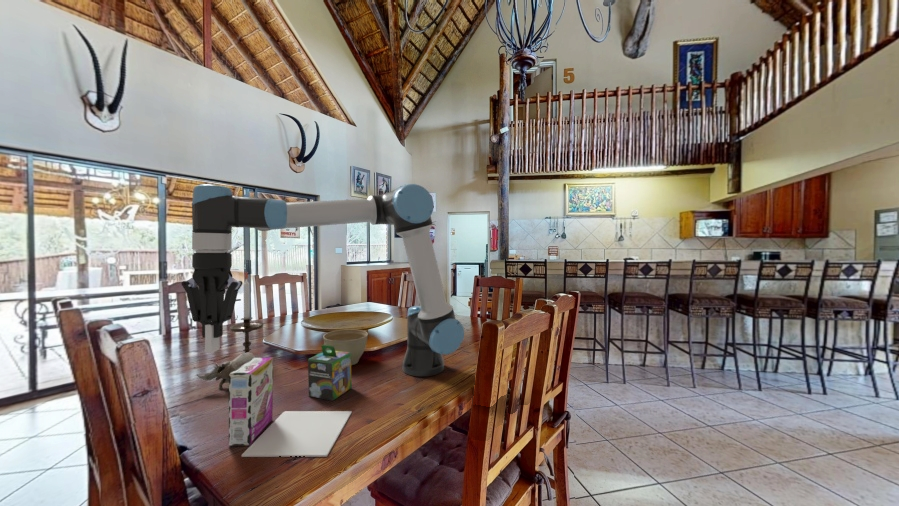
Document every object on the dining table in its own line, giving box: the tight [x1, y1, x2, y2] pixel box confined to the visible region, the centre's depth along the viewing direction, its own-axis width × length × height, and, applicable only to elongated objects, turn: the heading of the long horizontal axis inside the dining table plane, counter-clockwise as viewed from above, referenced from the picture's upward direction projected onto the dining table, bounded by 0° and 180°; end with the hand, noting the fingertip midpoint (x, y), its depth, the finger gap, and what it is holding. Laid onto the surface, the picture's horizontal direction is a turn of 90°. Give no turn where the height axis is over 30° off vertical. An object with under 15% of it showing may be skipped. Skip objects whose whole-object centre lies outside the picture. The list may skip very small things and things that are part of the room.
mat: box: [241, 410, 353, 458], centre depth 77 cm, size 18×18×1 cm
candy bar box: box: [228, 356, 274, 447], centre depth 77 cm, size 11×5×16 cm, turn 5°
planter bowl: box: [322, 328, 369, 366], centre depth 123 cm, size 16×16×11 cm
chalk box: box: [307, 344, 353, 402], centre depth 98 cm, size 9×9×15 cm
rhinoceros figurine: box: [196, 351, 256, 390], centre depth 103 cm, size 8×14×15 cm
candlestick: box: [228, 270, 264, 358], centre depth 122 cm, size 11×11×35 cm
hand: (212, 350), depth 77 cm, fingers closed
